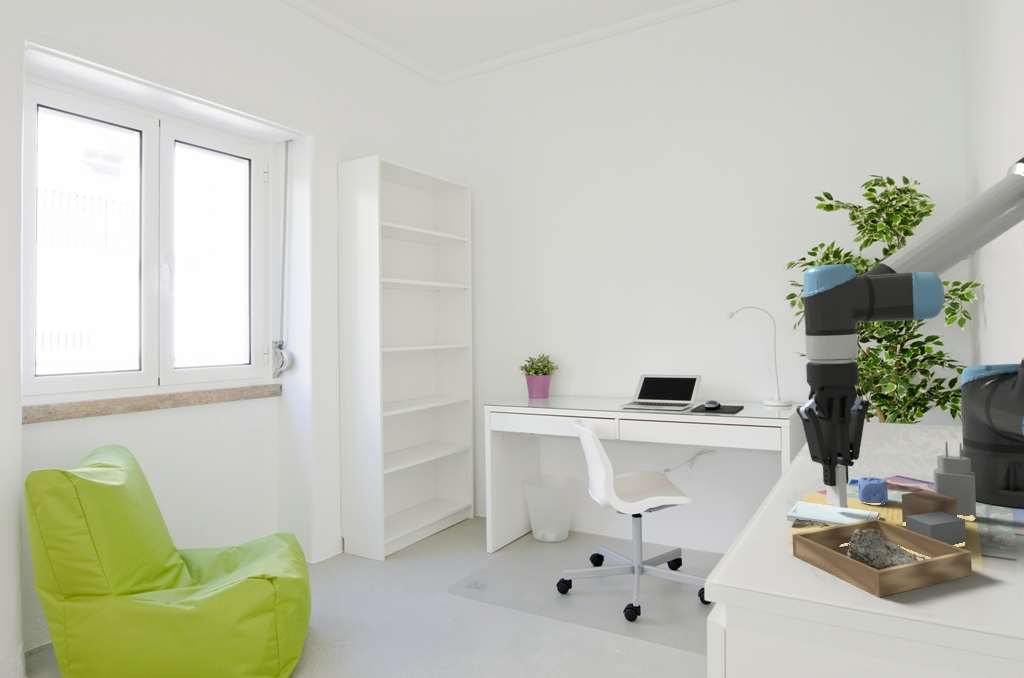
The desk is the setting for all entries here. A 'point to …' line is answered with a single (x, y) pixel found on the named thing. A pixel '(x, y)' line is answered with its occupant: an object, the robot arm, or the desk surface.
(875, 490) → the decorative dice
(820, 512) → the hard drive
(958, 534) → the charcoal block
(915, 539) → the oak frame
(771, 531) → the desk surface
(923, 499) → the walnut block
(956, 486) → the power adapter
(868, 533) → the rock sample
